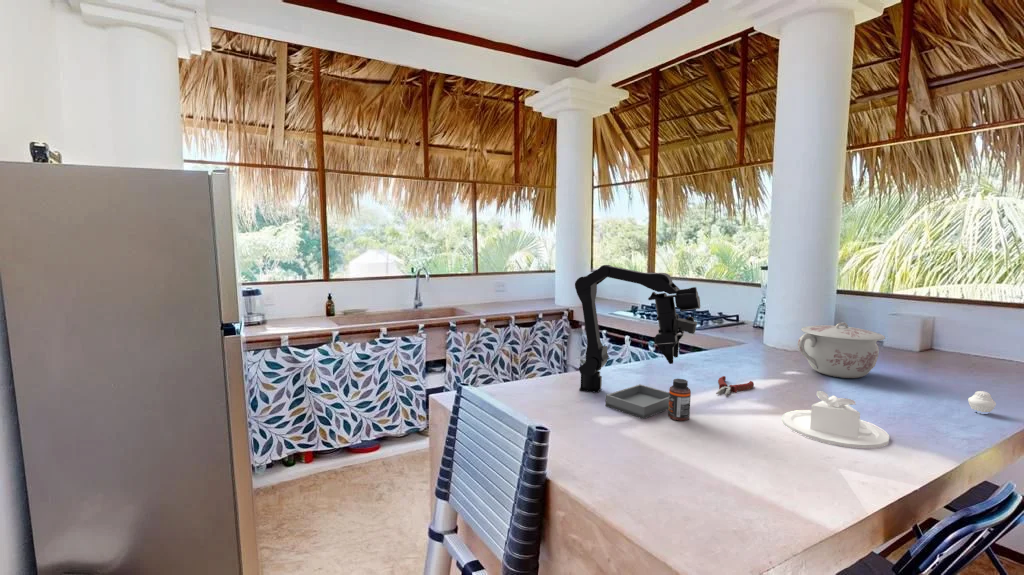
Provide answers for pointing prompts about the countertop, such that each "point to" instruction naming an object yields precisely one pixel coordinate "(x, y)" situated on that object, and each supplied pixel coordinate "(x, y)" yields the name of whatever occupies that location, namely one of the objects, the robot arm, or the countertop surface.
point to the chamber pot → (840, 349)
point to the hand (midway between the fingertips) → (673, 360)
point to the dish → (835, 424)
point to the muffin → (982, 402)
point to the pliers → (732, 386)
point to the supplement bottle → (679, 400)
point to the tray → (639, 400)
